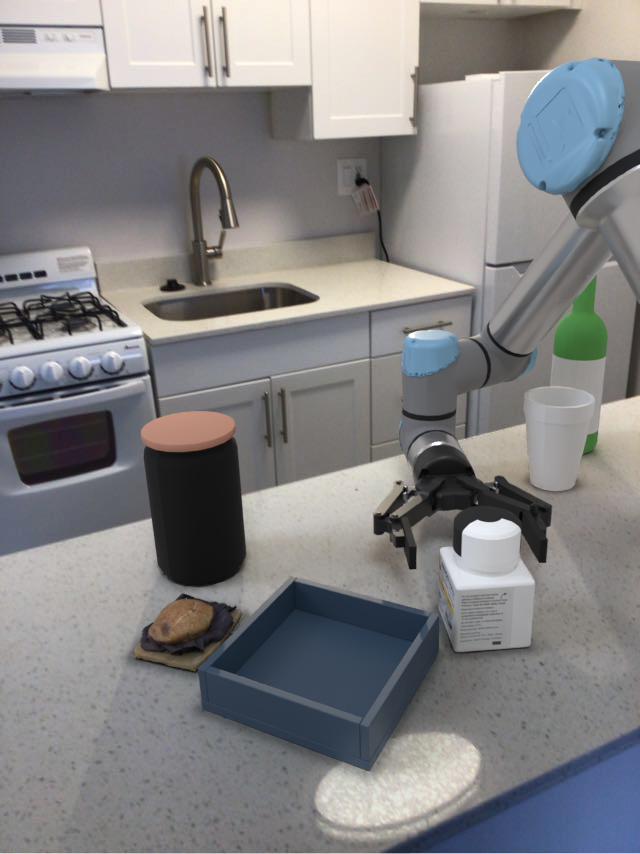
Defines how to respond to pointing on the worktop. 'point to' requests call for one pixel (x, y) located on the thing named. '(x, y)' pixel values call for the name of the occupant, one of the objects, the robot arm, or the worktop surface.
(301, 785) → the worktop surface
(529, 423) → the foam cup
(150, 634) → the bread roll
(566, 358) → the wine bottle
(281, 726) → the tote
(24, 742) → the worktop surface
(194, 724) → the worktop surface
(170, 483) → the coffee jar
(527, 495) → the robot arm
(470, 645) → the container
